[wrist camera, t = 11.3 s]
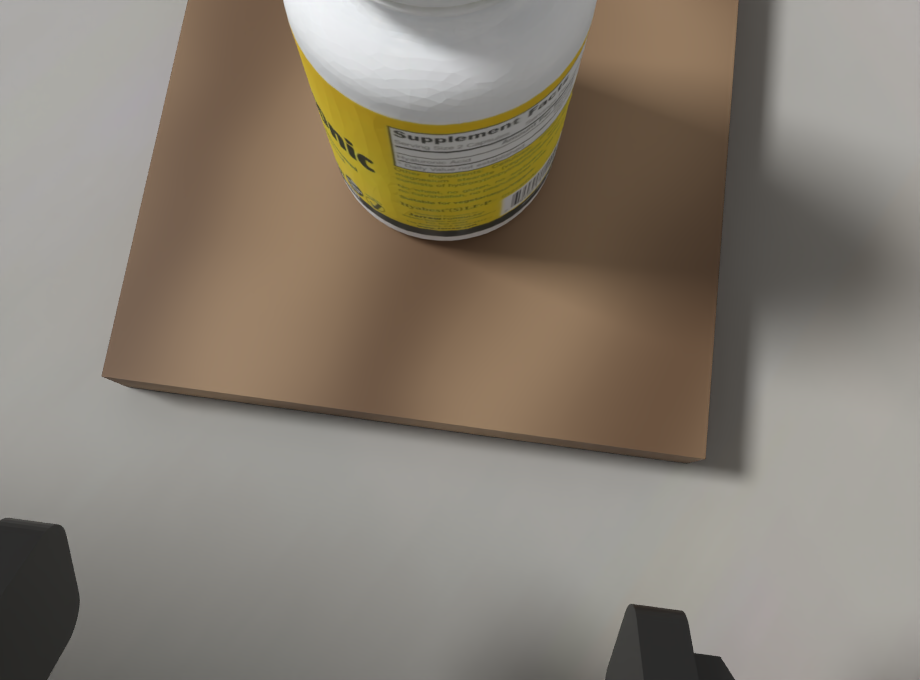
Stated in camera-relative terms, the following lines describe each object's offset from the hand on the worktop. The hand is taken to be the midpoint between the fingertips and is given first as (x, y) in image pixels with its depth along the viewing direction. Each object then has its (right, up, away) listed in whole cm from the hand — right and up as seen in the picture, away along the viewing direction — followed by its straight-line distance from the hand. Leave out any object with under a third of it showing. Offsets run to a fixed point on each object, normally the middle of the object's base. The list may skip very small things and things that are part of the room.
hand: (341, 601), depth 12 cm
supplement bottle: (+1, +8, +9) cm, 12 cm away
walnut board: (+1, +8, +10) cm, 13 cm away
